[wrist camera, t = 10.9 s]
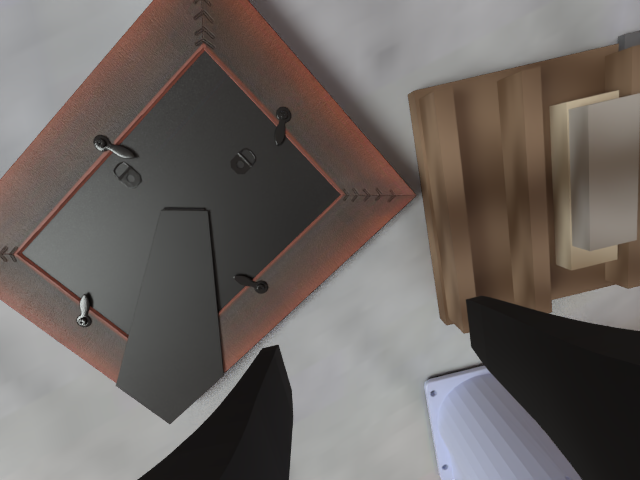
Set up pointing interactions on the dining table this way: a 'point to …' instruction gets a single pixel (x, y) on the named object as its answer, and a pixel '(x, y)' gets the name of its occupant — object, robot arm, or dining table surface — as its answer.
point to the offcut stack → (594, 177)
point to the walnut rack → (509, 181)
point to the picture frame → (187, 201)
